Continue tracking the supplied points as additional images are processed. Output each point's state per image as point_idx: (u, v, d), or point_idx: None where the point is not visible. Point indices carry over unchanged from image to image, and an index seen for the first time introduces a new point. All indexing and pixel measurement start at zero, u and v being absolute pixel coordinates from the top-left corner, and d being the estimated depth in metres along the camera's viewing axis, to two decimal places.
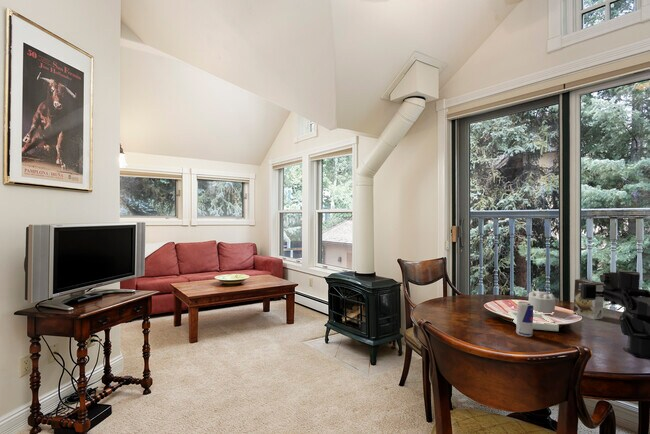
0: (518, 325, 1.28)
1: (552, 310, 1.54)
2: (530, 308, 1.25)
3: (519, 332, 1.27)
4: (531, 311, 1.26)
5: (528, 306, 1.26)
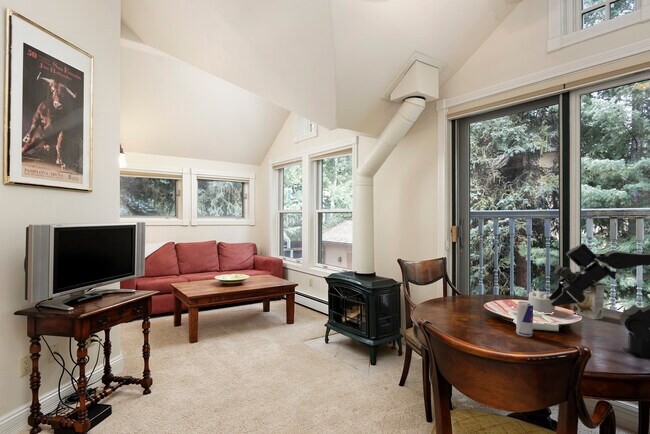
0: (518, 325, 1.28)
1: (552, 310, 1.54)
2: (530, 307, 1.25)
3: (519, 332, 1.27)
4: (531, 311, 1.26)
5: (528, 306, 1.26)
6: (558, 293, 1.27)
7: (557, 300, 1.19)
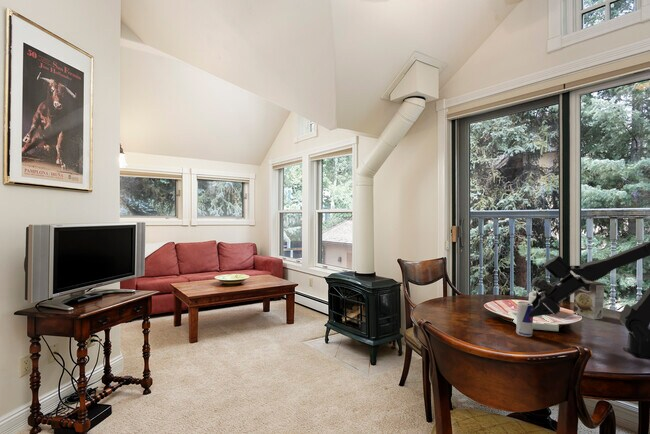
0: (518, 325, 1.28)
1: None
2: (530, 307, 1.25)
3: (519, 332, 1.27)
4: None
5: (528, 306, 1.26)
6: (536, 303, 1.30)
7: (534, 311, 1.22)
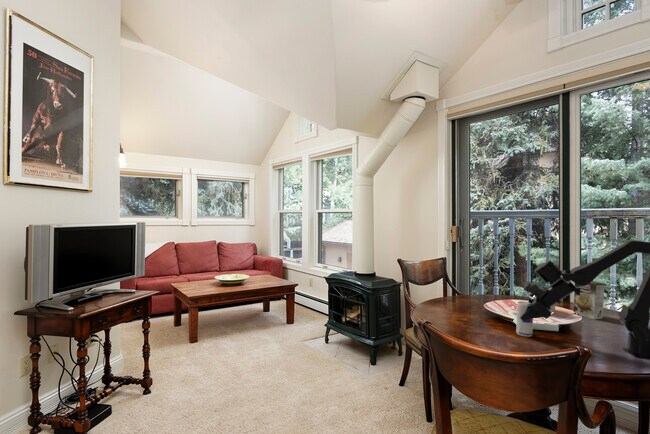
0: (518, 325, 1.28)
1: (552, 310, 1.54)
2: None
3: (519, 332, 1.27)
4: None
5: (528, 306, 1.26)
6: None
7: (525, 314, 1.25)
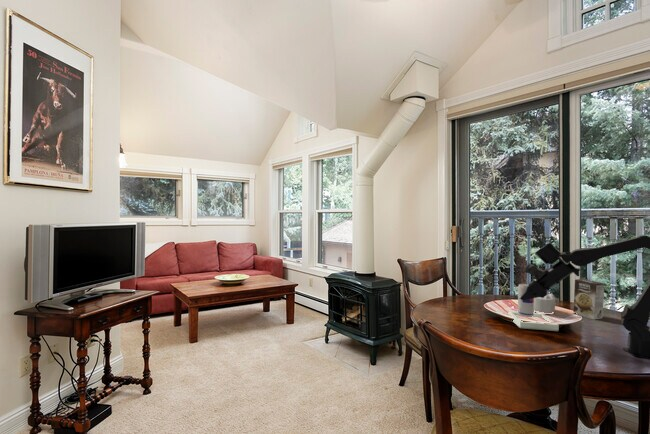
0: (519, 305, 1.32)
1: (552, 310, 1.54)
2: None
3: (520, 312, 1.32)
4: None
5: (528, 287, 1.30)
6: None
7: (525, 294, 1.29)
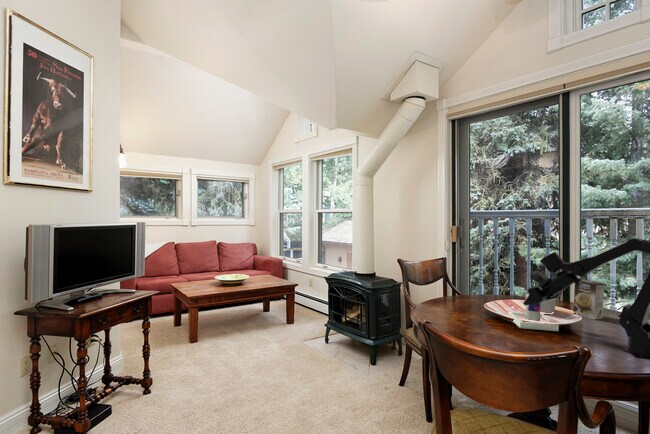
0: (525, 313, 1.41)
1: (552, 310, 1.54)
2: None
3: None
4: None
5: None
6: None
7: (526, 300, 1.37)
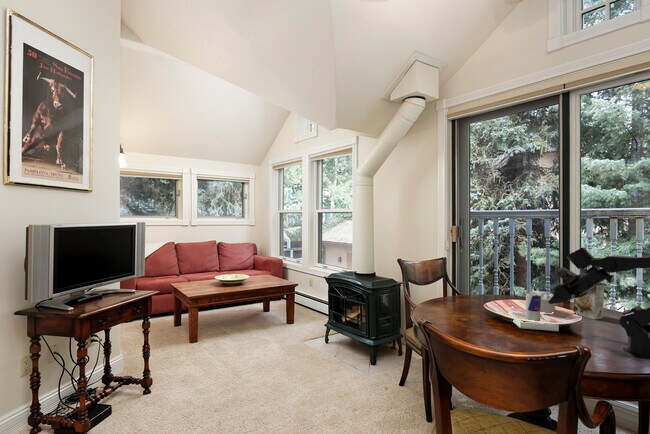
0: (525, 313, 1.41)
1: (552, 310, 1.54)
2: (535, 297, 1.38)
3: None
4: (536, 301, 1.38)
5: (533, 296, 1.38)
6: None
7: (552, 298, 1.29)
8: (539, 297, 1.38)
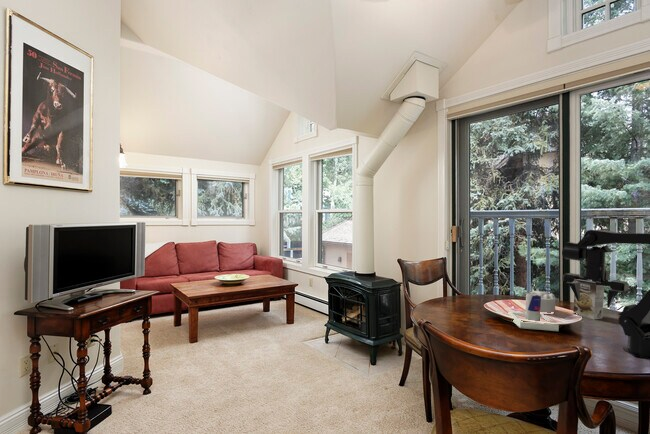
0: (525, 313, 1.41)
1: (552, 310, 1.54)
2: (535, 297, 1.38)
3: None
4: (536, 301, 1.38)
5: (533, 296, 1.38)
6: None
7: None
8: (539, 297, 1.38)
